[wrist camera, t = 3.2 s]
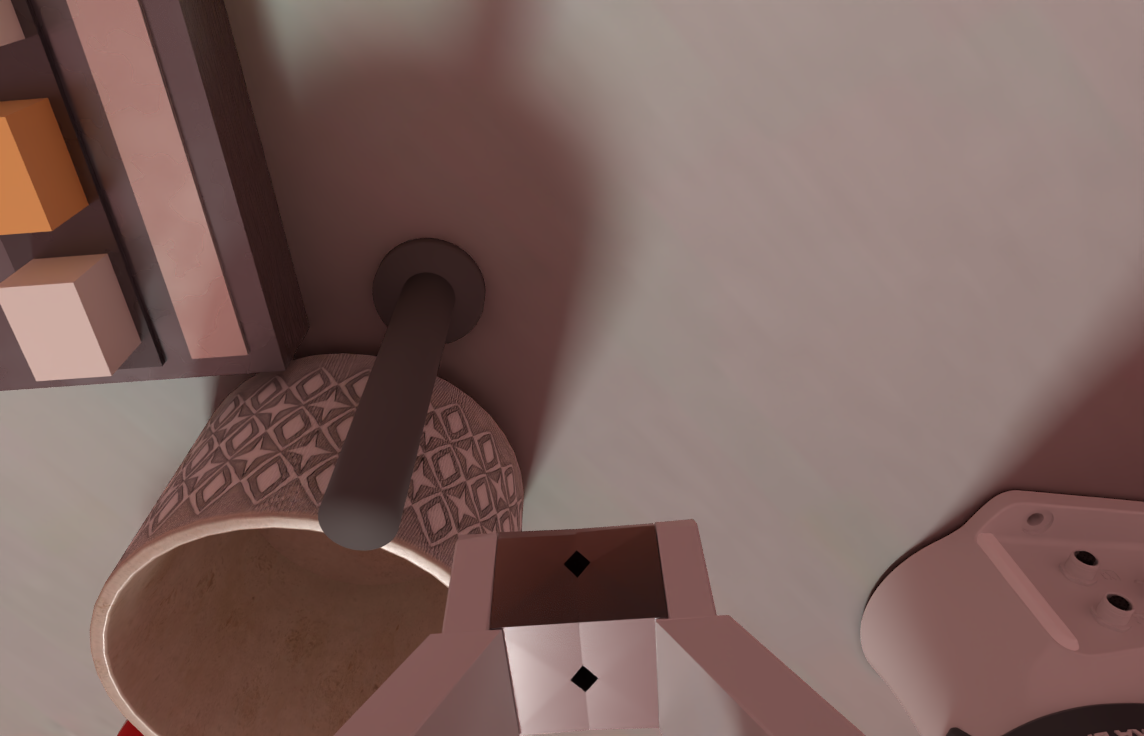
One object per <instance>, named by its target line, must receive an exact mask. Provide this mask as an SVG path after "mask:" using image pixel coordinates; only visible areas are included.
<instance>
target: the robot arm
mask: <svg viewBox="0 0 1144 736" xmlns="http://www.w3.org/2000/svg"><path fill="white" fill-rule="evenodd" d="M1032 514H1033V515H1032ZM1030 515H1031V516H1030ZM860 638H861V645H862V649H863V652H864V654H865V657H866V659H867V660H868V662H869V664H870V665H871V666H872V668H873V669H874V670H875V671H876V672H877V673H878V674H879V676H880V677H881V678H882V679H883V680H884V682H885V683H886V684H887V685H888V687H889V688H890V689H891V690H892V692H893V693H894V695H895V696H896V697H897V699H898V700H899V702H900V703H901V705H902V706H903V708H904V709H905V711H906V712H907V714H908V716H909V717H910V719H911V720H912V722H913V724H914V725H915V727H916V729H917V730H918V732H919V734H920V736H1144V502H1142V501H1131V500H1120V499H1109V498H1098V497H1087V496H1076V495H1065V494H1054V493H1043V492H1032V491H1020V490H1012V491H1007V492H1004V493H1001V494H999V495H997V496H995V497H994V498H992V499H991V500H990V501H988V502H987V503H986V504H985V505H984V506H983V507H982V508H980V509H979V510H978V511H977V512H976V513H975V514H974V515H973V516H972V517H971V518H970V519H969V520H968V521H967V522H966V523H965V524H964V525H963V526H962V527H961V528H959V529H958V530H956V531H955V532H953V533H951V534H950V535H948V536H946V537H944V538H942V539H940V540H938V541H936V542H934V543H932V544H930V545H928V546H927V547H925V548H923V549H921V550H920V551H918V552H917V553H915V554H914V555H912V556H911V557H909V558H908V559H906V560H905V561H904V562H902V563H901V564H900V565H899V566H898V567H896V568H895V569H894V570H893V571H892V572H891V573H890V574H889V575H888V576H887V577H886V578H885V579H884V580H883V582H882V583H881V584H880V585H879V586H878V588H877V589H876V591H875V592H874V593H873V595H872V597H871V598H870V600H869V602H868V604H867V606H866V609H865V611H864V614H863V618H862V622H861V630H860ZM630 728H660V732H661V733H662V735H663V736H865V735H864V734H863V733H862V732H861V731H860V730H859V729H857V728H856V727H855V726H854V725H853V724H852V723H851V722H850V721H848V720H847V719H846V718H845V717H844V716H843V715H842V714H840V713H839V712H838V711H837V710H836V709H835V708H834V707H833V706H831V705H830V704H829V703H828V702H827V701H826V700H825V699H823V698H822V697H821V696H820V695H819V694H818V693H817V692H816V691H814V690H813V689H812V688H811V687H810V686H809V685H808V684H806V683H805V682H804V681H803V680H802V679H801V678H800V677H798V676H797V675H796V674H795V673H794V672H793V671H792V670H791V669H789V668H788V667H787V666H786V665H785V664H784V663H783V662H781V661H780V660H779V659H778V658H777V657H776V656H775V655H774V654H772V653H771V652H770V651H769V650H768V649H767V648H766V647H764V646H763V645H762V644H761V643H760V642H759V641H758V640H757V639H755V638H754V637H753V636H752V635H751V634H750V633H749V632H747V631H746V630H745V629H744V628H743V627H742V626H741V625H740V624H738V623H737V622H736V621H735V620H734V619H733V618H732V617H730V616H729V615H722V616H717V614H716V609H715V605H714V600H713V595H712V591H711V586H710V582H709V577H708V572H707V568H706V563H705V558H704V554H703V549H702V544H701V540H700V535H699V530H698V526H697V523H696V522H695V521H694V520H693V519H688V520H677V521H665V522H655V524H653V523H649V524H636V525H622V526H609V527H595V528H582V529H563V530H540V531H517V532H500V533H499V534H498V533H489V534H465V535H460V536H459V538H458V540H457V542H456V544H455V550H454V557H453V563H452V570H451V576H450V583H449V589H448V596H447V602H446V608H445V615H444V621H443V628H442V633H439V634H430V635H429V636H428V637H427V638H426V639H425V640H424V641H423V642H422V643H421V644H420V645H419V646H418V647H417V648H416V649H415V650H414V651H413V652H412V653H411V655H410V656H409V657H408V658H407V659H406V660H405V661H404V662H403V663H402V664H401V665H400V666H399V667H398V668H397V669H396V670H395V671H394V672H393V673H392V675H391V676H390V677H389V678H388V679H387V680H386V681H385V682H384V683H383V684H382V685H381V686H380V687H379V688H378V689H377V690H376V691H375V692H374V693H373V694H372V696H371V697H370V698H369V699H368V700H367V701H366V702H365V703H364V704H363V705H362V706H361V707H360V708H359V709H358V710H357V711H356V712H355V713H354V714H353V715H352V717H351V718H350V719H349V720H348V721H347V722H346V723H345V724H344V725H343V726H342V727H341V728H340V729H339V730H338V731H337V732H336V733H335V734H334V735H333V736H525V735H536V734H548V733H559V732H570V731H581V730H589V729H590V730H600V729H630Z"/></svg>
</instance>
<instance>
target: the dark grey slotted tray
mask: <svg viewBox="0 0 1144 736" xmlns="http://www.w3.org/2000/svg"><path fill="white" fill-rule="evenodd" d="M11 2H12V5H13V8H14V10H15V13H16V15H17V18H18V21H19V23H20V26H21V29H22V31H23V34H24V36H25V39H22V40H19V41H16V42H13V43H10V44H7V45H3V46H0V102H1V101H14V100H26V99H39V98H48V99H49V102H50V105H51V107H52V110H53V112H54V115H55V118H56V120H57V123H58V125H59V128H60V131H61V133H62V136H63V139H64V141H65V144H66V146H67V149H68V152H69V154H70V157H71V160H72V162H73V165H74V167H75V170H76V173H77V175H78V178H79V180H80V183H81V186H82V188H83V191H84V194H85V196H86V199H87V201H88V204H89V205H88V206H87V207H85V208H84V209H82V210H81V211H80V212H78V213H77V214H75V215H74V216H73V217H71V218H70V219H68V220H67V221H66V222H64V223H63V224H61V225H60V226H59V227H57V228H56V229H54V230H53V231H47V232H34V233H21V234H7V235H0V283H1V282H2V281H4V280H5V279H7V278H8V277H9V276H11V275H12V274H13V273H15V272H16V271H17V270H19V269H20V268H21V267H23V266H24V265H25V264H27V263H28V262H30V261H31V260H32V259H42V258H55V257H68V256H82V255H95V254H108V256H109V259H110V262H111V264H112V267H113V270H114V272H115V275H116V277H117V280H118V283H119V285H120V288H121V290H122V293H123V296H124V298H125V301H126V304H127V306H128V309H129V311H130V314H131V317H132V319H133V322H134V324H135V327H136V330H137V332H138V335H139V338H140V340H141V343H140V345H139V346H138V347H137V348H136V349H135V350H134V351H133V352H132V354H131V355H130V356H129V357H128V358H127V359H126V360H125V362H124V363H123V364H122V365H121V366H120V367H119V368H118V369H117V371H116V372H115V373H114V374H113V375H112V376H104V377H90V378H76V379H62V380H47V381H36V380H35V377H34V375H33V373H32V371H31V369H30V367H29V365H28V362H27V360H26V358H25V356H24V354H23V352H22V350H21V347H20V345H19V343H18V341H17V339H16V337H15V335H14V332H13V330H12V328H11V326H10V324H9V322H8V320H7V317H6V315H5V313H4V311H3V309H2V307H1V305H0V391H4V390H18V389H33V388H47V387H61V386H75V385H90V384H104V383H118V382H132V381H146V380H161V379H175V378H189V377H203V376H217V375H232V374H246V373H260V372H274V371H286V369H287V367H288V365H289V363H290V362H291V360H292V358H293V356H294V354H295V352H296V351H297V349H298V347H299V345H300V343H301V342H302V340H303V338H304V336H305V334H306V332H307V331H308V329H309V324H308V320H307V316H306V313H305V309H304V305H303V301H302V297H301V294H300V290H299V286H298V282H297V278H296V275H295V271H294V267H293V263H292V259H291V256H290V252H289V248H288V244H287V240H286V237H285V233H284V229H283V225H282V221H281V218H280V214H279V210H278V206H277V202H276V199H275V195H274V191H273V187H272V184H271V180H270V176H269V172H268V168H267V165H266V161H265V157H264V153H263V149H262V146H261V142H260V138H259V134H258V130H257V127H256V123H255V119H254V115H253V111H252V108H251V104H250V100H249V96H248V92H247V89H246V85H245V81H244V77H243V73H242V70H241V66H240V62H239V58H238V54H237V51H236V47H235V43H234V39H233V35H232V32H231V28H230V24H229V20H228V17H227V13H226V9H225V5H224V1H223V0H11Z"/></svg>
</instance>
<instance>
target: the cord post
mask: <svg viewBox="0 0 1144 736" xmlns="http://www.w3.org/2000/svg"><path fill="white" fill-rule="evenodd" d="M373 300H374V304H375V307H376V310H377V312H378V314H379V316H380V317H381V319H382V320H383V321H384V323H385V324H386V325H387V326H388V328H387V331H386V333H385V336H384V338H383V341H382V344H381V346H380V349H379V352H378V354H377V357H376V360H375V362H374V365H373V367H372V370H371V373H370V375H369V378H368V381H367V383H366V386H365V389H364V391H363V394H362V396H361V399H360V402H359V404H358V407H357V410H356V412H355V415H354V418H353V420H352V423H351V425H350V428H349V431H348V433H347V436H346V439H345V441H344V444H343V447H342V449H341V452H340V454H339V457H338V460H337V462H336V465H335V468H334V470H333V473H332V476H331V478H330V481H329V483H328V486H327V489H326V491H325V494H324V497H323V499H322V502H321V505H320V507H319V510H318V521H319V525H320V527H321V529H322V531H323V532H324V533H325V535H326V536H327V537H328V538H330V539H331V540H332V541H333V542H335V543H337V544H339V545H340V546H343V547H345V548H349V549H353V550H361V551H367V550H374V549H378V548H381V547H383V546H385V545H387V544H388V543H389V542H391V541H392V540H393V539H394V537H395V536H396V534H397V532H398V530H399V526H400V522H401V518H402V514H403V510H404V506H405V502H406V498H407V494H408V489H409V485H410V481H411V477H412V473H413V469H414V465H415V461H416V457H417V453H418V449H419V445H420V441H421V437H422V433H423V429H424V425H425V421H426V417H427V412H428V408H429V404H430V400H431V396H432V392H433V388H434V384H435V380H436V376H437V372H438V368H439V364H440V360H441V356H442V352H443V348H444V344H446V343H450V342H453V341H456V340H458V339H460V338H461V337H463V336H464V335H466V334H467V333H468V332H469V331H471V330H472V329H473V327H474V326H475V325H476V323H477V322H478V320H479V318H480V316H481V313H482V310H483V305H484V300H485V284H484V279H483V276H482V273H481V271H480V269H479V267H478V266H477V264H476V263H475V261H474V260H473V259H472V258H471V257H470V256H469V255H468V254H467V253H466V252H465V251H463V250H462V249H460V248H459V247H457V246H455V245H453V244H451V243H449V242H446V241H443V240H439V239H432V238H420V239H414V240H410V241H407V242H404V243H402V244H400V245H398V246H397V247H395V248H394V249H393V250H391V251H390V252H389V253H388V254H387V255H386V256H385V258H384V259H383V261H382V262H381V264H380V266H379V269H378V271H377V273H376V275H375V278H374V282H373Z"/></svg>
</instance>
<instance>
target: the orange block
mask: <svg viewBox="0 0 1144 736" xmlns="http://www.w3.org/2000/svg"><path fill="white" fill-rule="evenodd" d="M88 205H89V204H88V201H87V199H86V196H85V194H84V191H83V188H82V186H81V183H80V180H79V178H78V175H77V173H76V170H75V167H74V165H73V162H72V160H71V157H70V154H69V152H68V149H67V146H66V144H65V141H64V139H63V136H62V133H61V131H60V128H59V125H58V123H57V120H56V118H55V115H54V112H53V110H52V107H51V105H50V102H49V99H48V98H39V99H26V100H14V101H1V102H0V235H7V234H21V233H34V232H47V231H53V230H54V229H56V228H57V227H59V226H60V225H61V224H63V223H64V222H66V221H67V220H68V219H70V218H71V217H73V216H74V215H75V214H77V213H78V212H80V211H81V210H82V209H84V208H85V207H87V206H88Z"/></svg>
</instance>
